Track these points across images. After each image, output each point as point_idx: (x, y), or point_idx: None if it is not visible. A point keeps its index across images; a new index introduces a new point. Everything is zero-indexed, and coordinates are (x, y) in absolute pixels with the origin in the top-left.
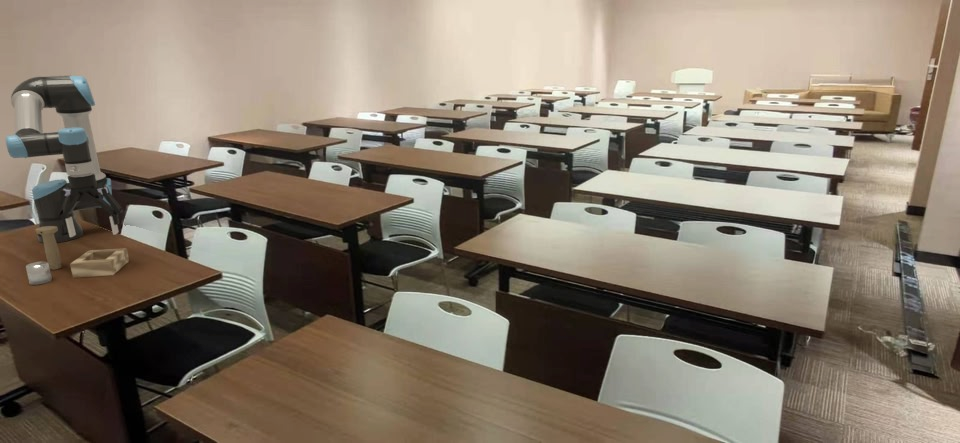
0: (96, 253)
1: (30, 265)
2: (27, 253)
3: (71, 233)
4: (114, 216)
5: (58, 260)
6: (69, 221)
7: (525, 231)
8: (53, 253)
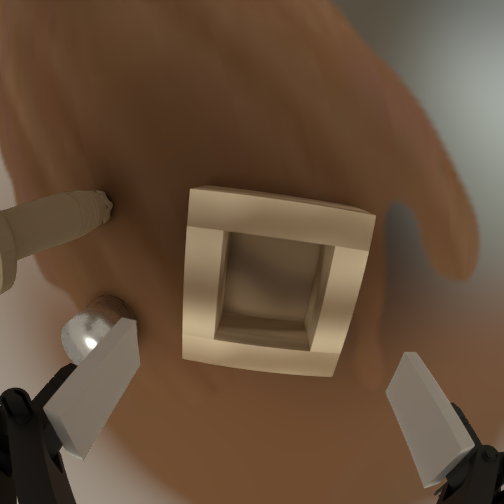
0: (239, 230)
1: (74, 352)
2: (14, 56)
3: (130, 377)
4: (454, 468)
5: (97, 222)
6: (90, 432)
7: None
8: (71, 240)
